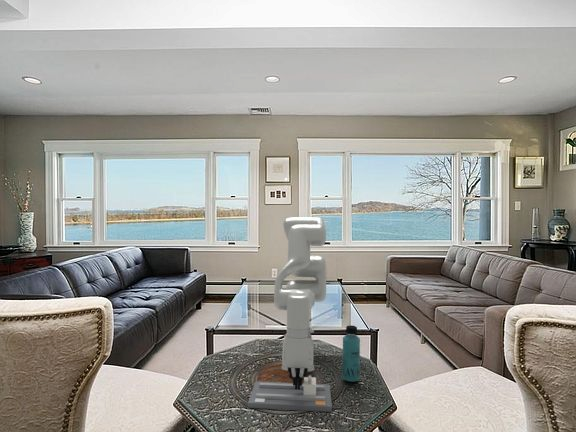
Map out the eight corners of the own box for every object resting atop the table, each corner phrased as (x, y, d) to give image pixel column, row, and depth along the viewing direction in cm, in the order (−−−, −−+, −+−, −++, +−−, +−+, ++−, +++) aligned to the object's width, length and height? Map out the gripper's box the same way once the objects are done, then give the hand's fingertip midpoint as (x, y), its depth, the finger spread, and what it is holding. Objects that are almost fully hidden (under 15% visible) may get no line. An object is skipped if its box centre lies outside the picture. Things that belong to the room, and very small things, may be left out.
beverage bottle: (337, 380, 126) (338, 326, 126) (349, 375, 130) (350, 322, 130) (352, 387, 121) (352, 330, 121) (363, 382, 125) (364, 326, 125)
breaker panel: (255, 385, 122) (255, 378, 122) (329, 388, 120) (329, 381, 120) (248, 407, 108) (248, 399, 108) (331, 411, 106) (332, 403, 106)
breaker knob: (303, 389, 116) (304, 375, 116) (315, 389, 116) (315, 375, 116) (303, 396, 111) (303, 382, 111) (316, 397, 111) (316, 383, 111)
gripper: (320, 328, 117) (320, 383, 117) (276, 327, 118) (276, 381, 118) (321, 336, 109) (320, 394, 109) (274, 335, 110) (273, 392, 111)
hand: (297, 387), depth 114 cm, fingers closed
